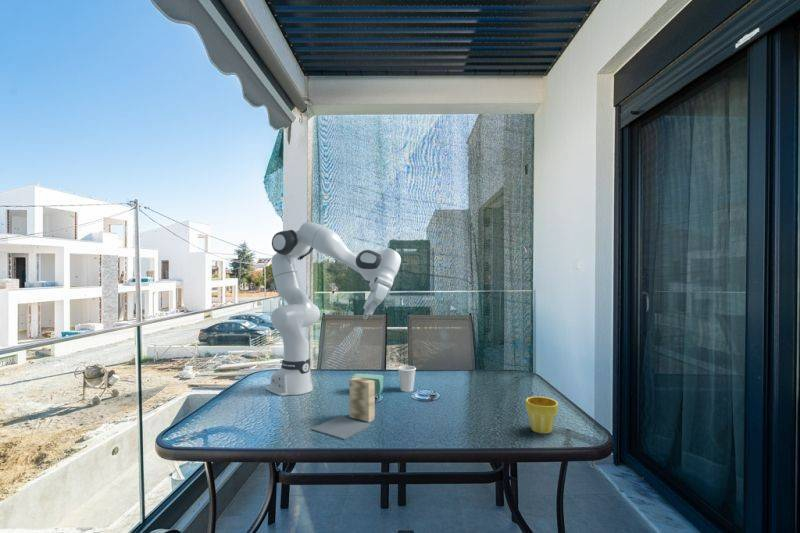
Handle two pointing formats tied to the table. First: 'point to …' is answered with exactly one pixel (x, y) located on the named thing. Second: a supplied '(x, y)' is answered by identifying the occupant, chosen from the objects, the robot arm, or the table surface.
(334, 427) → the mat
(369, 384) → the oak slab
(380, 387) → the box
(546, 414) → the plant pot
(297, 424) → the table surface
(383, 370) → the table surface
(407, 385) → the dixie cup
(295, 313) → the robot arm
